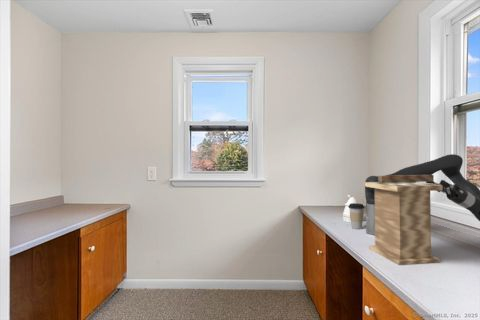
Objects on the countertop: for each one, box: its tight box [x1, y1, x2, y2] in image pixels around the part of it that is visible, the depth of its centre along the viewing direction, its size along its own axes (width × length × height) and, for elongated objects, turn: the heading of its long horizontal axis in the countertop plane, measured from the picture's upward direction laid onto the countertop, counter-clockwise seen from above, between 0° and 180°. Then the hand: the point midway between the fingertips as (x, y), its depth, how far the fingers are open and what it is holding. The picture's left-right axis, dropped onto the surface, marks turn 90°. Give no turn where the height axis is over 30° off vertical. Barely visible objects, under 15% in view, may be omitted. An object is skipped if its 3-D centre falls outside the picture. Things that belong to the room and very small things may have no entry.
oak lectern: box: [364, 181, 442, 266], centre depth 132 cm, size 20×24×32 cm
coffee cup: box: [349, 203, 365, 230], centre depth 184 cm, size 9×9×15 cm
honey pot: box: [342, 194, 364, 223], centre depth 206 cm, size 13×13×18 cm
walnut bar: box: [377, 174, 435, 183], centre depth 139 cm, size 26×3×3 cm, turn 97°
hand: (433, 181), depth 141 cm, fingers open, 8 cm apart
